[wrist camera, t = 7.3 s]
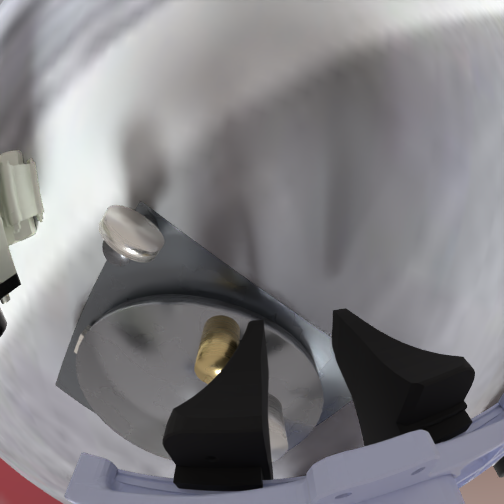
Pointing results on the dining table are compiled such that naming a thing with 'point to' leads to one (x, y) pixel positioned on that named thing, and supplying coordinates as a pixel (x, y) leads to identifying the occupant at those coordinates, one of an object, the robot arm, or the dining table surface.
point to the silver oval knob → (129, 236)
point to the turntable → (183, 364)
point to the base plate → (206, 285)
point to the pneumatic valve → (16, 216)
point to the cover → (276, 428)
